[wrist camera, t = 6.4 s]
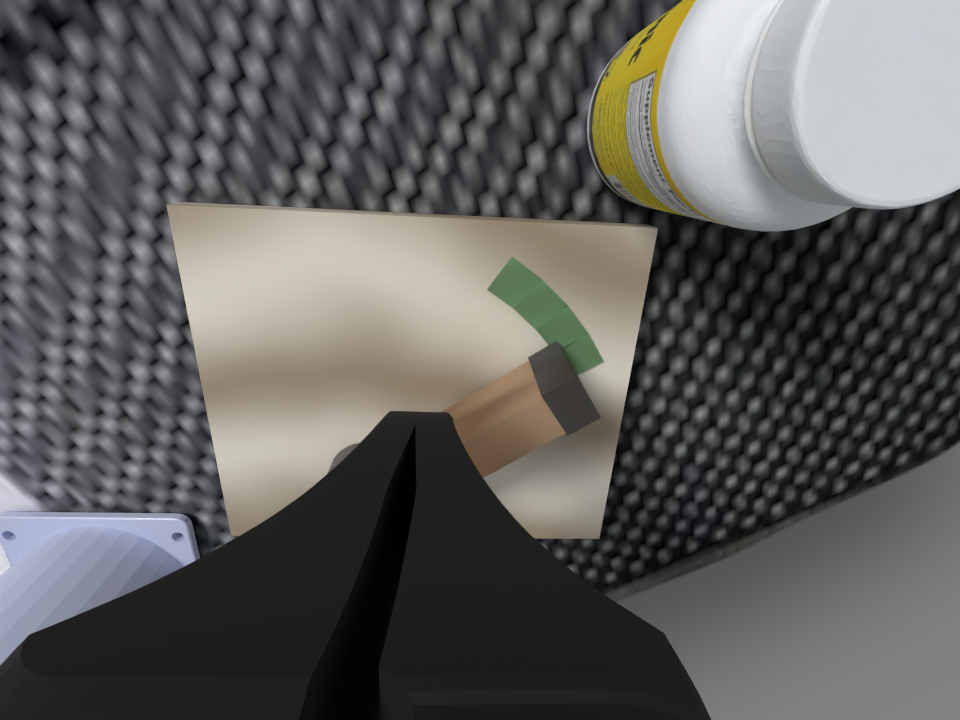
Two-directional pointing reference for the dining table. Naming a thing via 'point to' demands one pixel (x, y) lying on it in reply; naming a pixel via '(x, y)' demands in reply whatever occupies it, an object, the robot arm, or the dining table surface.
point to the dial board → (402, 339)
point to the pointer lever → (519, 411)
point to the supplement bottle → (783, 110)
